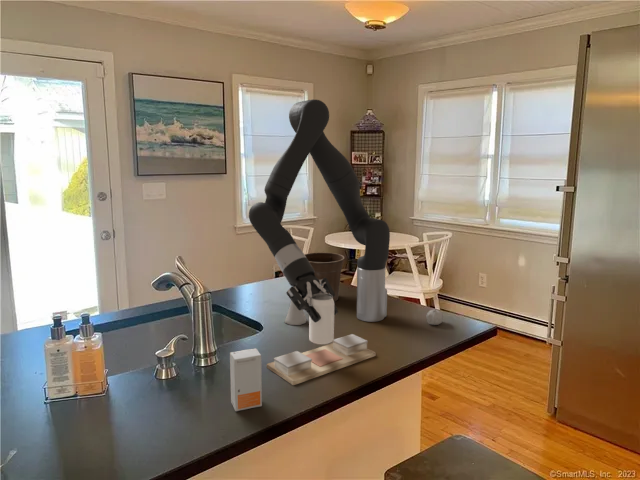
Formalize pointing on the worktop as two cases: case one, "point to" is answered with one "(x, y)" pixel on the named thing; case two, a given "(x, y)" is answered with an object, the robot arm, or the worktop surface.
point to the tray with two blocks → (321, 359)
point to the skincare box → (246, 379)
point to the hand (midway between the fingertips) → (326, 317)
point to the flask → (295, 315)
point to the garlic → (434, 317)
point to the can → (322, 320)
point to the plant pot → (327, 268)
